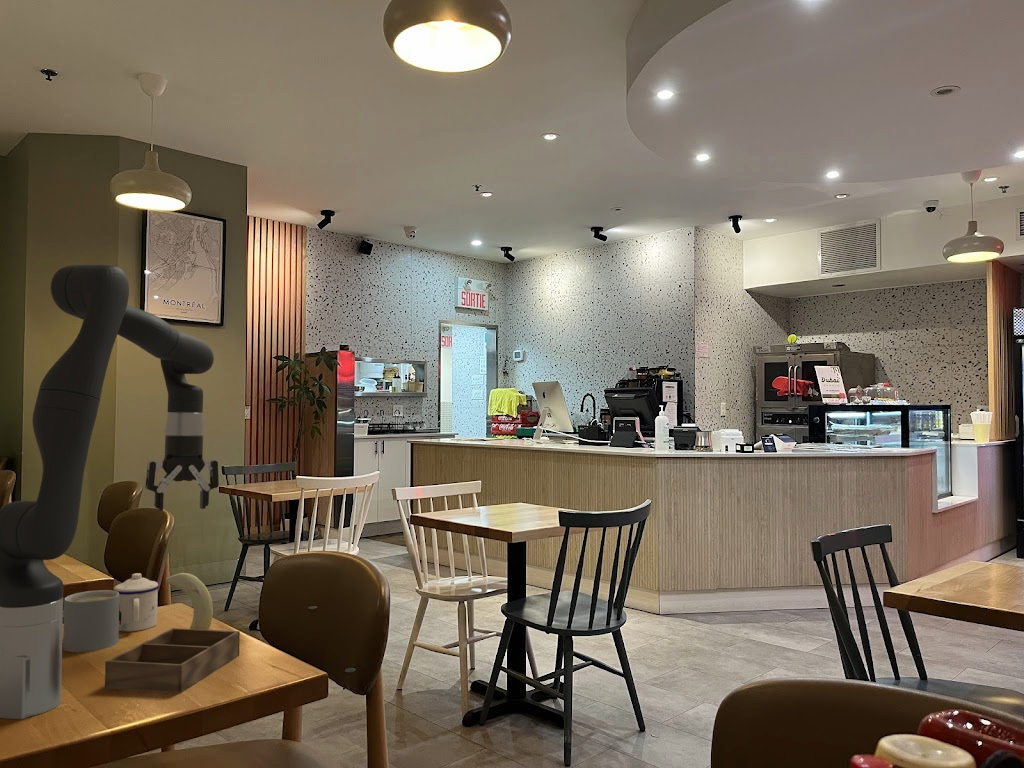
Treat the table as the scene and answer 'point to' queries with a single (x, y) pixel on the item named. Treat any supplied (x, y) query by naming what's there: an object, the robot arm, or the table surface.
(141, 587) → the teacup with lid
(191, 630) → the walnut crate
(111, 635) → the coffee mug
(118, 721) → the table surface
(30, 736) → the table surface
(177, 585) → the fruit
